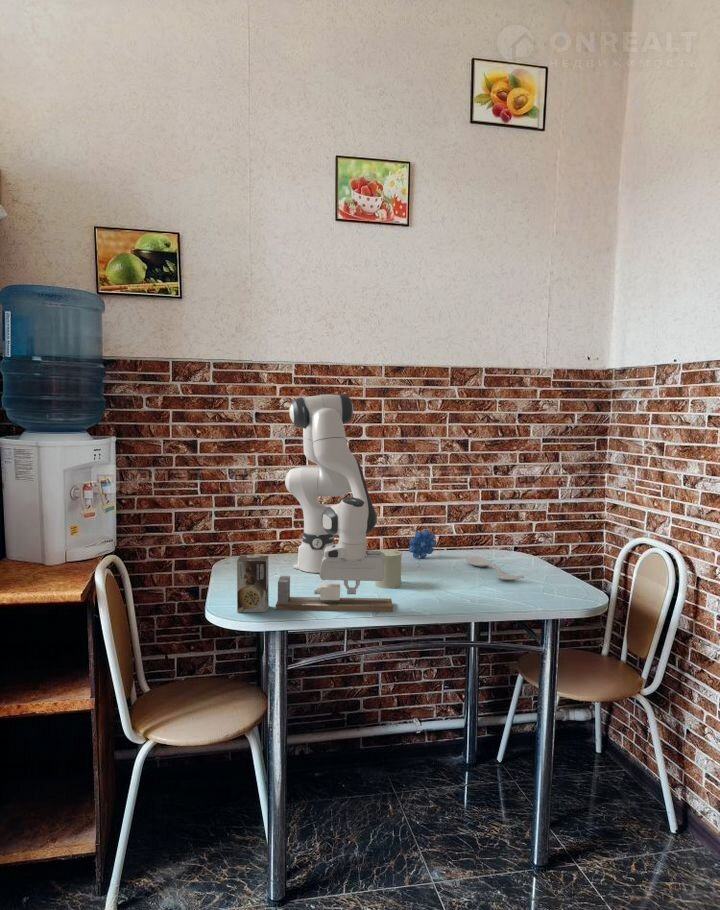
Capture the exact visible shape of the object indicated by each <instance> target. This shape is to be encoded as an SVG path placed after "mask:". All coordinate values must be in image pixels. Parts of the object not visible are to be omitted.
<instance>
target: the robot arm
mask: <svg viewBox="0 0 720 910" xmlns="http://www.w3.org/2000/svg"><path fill="white" fill-rule="evenodd" d="M353 414H354V404H353V402H352V398H351V397H349V395H347V394H341V393H338V394H328V393H327V394H319V395H318V394H317V395H311V396H310V395H309V396H306V397H301V396H300V397H297V398H294V399H292V401H291V403H290V406H289V418H290V420H291V422H292V424H293V426H295V427H296V428H301V429H302V438H303V439H302V441H303V444H302V445H303V454H304V456H305V457H306V459H307V460H308V461H310V462H311V463H313V464H316V465H317V467H316V466H310V467H309V466H301V467H293V468H291V469H289V470H288V472H287V473H286V475H285V478H284V485H285V487H286V488H285V489H286V490H287V491H288V492H289V494H291V495H292V496H293V497H294V498H295V499H296V500H297V501H298V503H299V505H300V507H301V510H302V514H303V531H302V535H301V536H302V537H301V538H302V542H301V544H300V545H299V546H298V553H297V555H298V557H297V562H295V563H294V564H293V565H292V567H293V569H297V570H300V571H303V572H306V573H314V574H315V573H316V574H319V578H320V580H322V581H343V585H344V586H345V588H346V594H347V595H357V590H358V588H359V586H360V585H361V581H362V582H369V581H370V582H375V581H382V580H383V579H384V566H383V565H384V564H385V562H386V556H385V554H384V553H382V552H381V551H379V550H368V547H367V545H368V541H367V540H368V539H367V534H370V533H371V532H372V531H373V529H374V528H375V526H376V525H377V522H378V516H377V512H376V510H375V509H376V508H375V507H374V505H373V503H372V501H371V497H370V494H369V490H368V487H367V483H366V480H365V476H364V473H363V470H362V467H361V464H360V462H359V459H358V458H357V456H355V455H353V453H352V452H351V449H350V448H349V445H348V443H347V437H346V436H347V435H346V430H345V426H344V424H347V423H349V422H350V421H351V420H352V419H353ZM350 492H351V494H352V496H349V497H345V498H343V499H341V501H340V502H339V503H336V504H333V505H329V506H327V505H324V504H322V503H321V502H319V500H318V497H335V498H336V497H340V496H341V497H343V496H347V495H348V494H350ZM335 536H338V542H337V543H336V544H335V542H334V541H335ZM349 581H351V582H352V581H353V582H355V586H354V587H352V586H351V587H350V586H349Z"/></svg>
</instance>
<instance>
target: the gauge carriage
mask: <svg viewBox="0 0 720 910" xmlns="http://www.w3.org/2000/svg"><path fill="white" fill-rule="evenodd" d="M313 594H314V595H319V597H320V600H340V598H341V582H321V583H320V587H314V591H313ZM329 604H331V601H329Z"/></svg>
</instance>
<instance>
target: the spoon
mask: <svg viewBox="0 0 720 910" xmlns="http://www.w3.org/2000/svg"><path fill="white" fill-rule="evenodd" d="M465 561H466V562H467V564H470V565H471V566H473V567H474V566H475V567H479V568H481V567H489V568H492V569H494V570H495V571H496V572H497V574H498V575H497V578H498V579H500V580H502V581H513V580H520V579H524V577H525V576H524V575H523V574H521V575H512V574H506V573H504V572H503V571H502V570H501V569H500V568H499V567H498V566H497V565H496V564H494V563H491V562H490V561H489V560H487V559H486V558H483V557H480V556H477V555H476V556H474V555H472V556H468V557H466V558H465Z"/></svg>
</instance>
